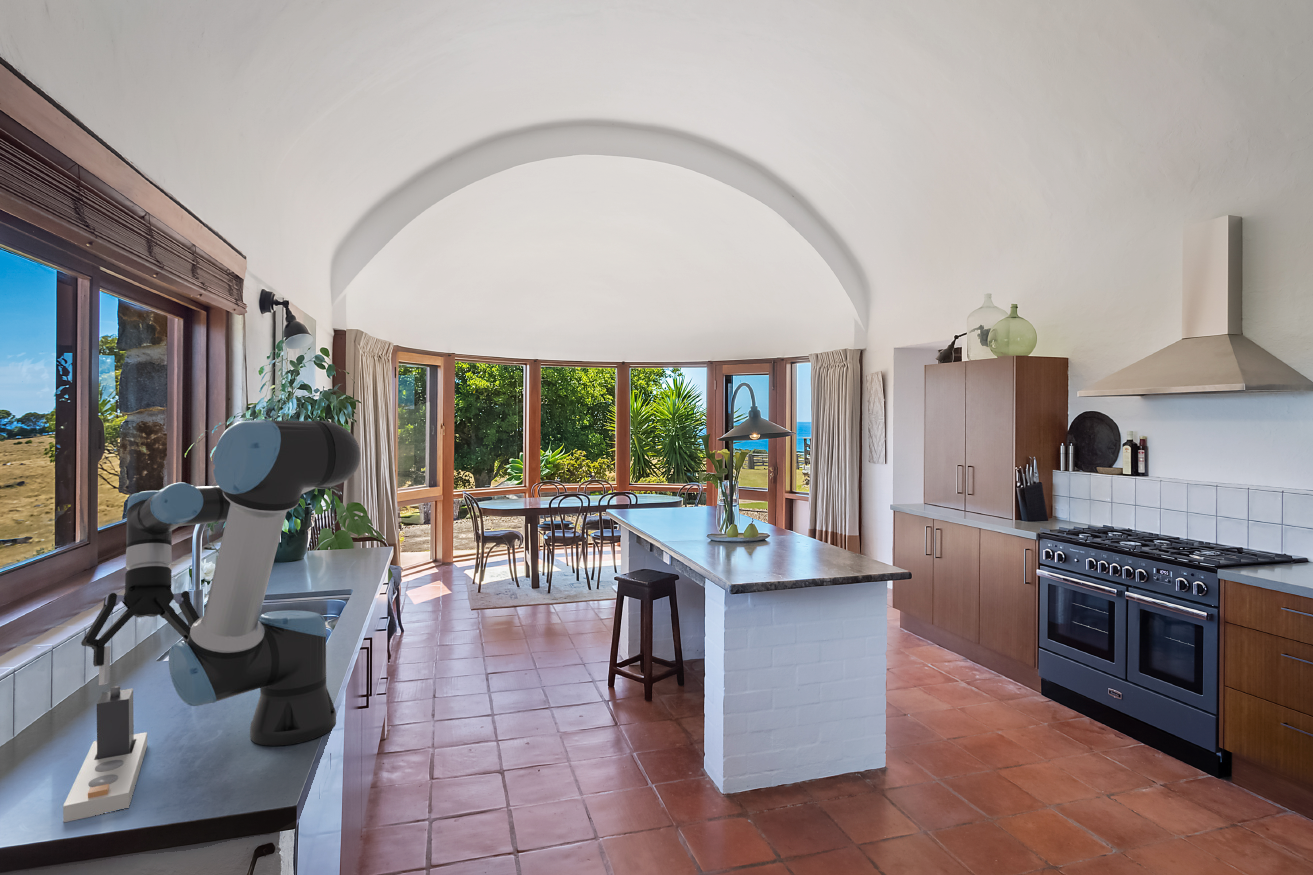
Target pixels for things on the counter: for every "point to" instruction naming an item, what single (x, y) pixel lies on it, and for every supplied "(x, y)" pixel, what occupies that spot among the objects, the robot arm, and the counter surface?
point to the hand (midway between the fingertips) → (146, 679)
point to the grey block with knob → (115, 723)
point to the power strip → (105, 782)
